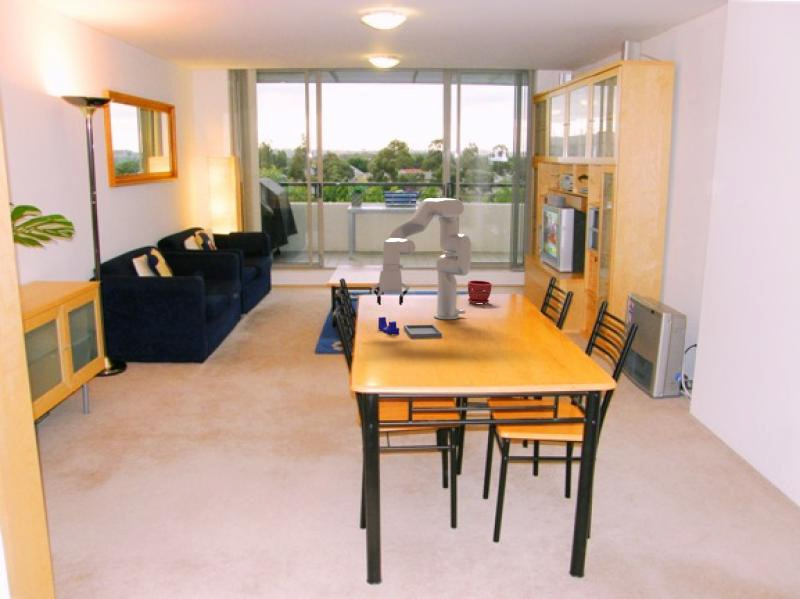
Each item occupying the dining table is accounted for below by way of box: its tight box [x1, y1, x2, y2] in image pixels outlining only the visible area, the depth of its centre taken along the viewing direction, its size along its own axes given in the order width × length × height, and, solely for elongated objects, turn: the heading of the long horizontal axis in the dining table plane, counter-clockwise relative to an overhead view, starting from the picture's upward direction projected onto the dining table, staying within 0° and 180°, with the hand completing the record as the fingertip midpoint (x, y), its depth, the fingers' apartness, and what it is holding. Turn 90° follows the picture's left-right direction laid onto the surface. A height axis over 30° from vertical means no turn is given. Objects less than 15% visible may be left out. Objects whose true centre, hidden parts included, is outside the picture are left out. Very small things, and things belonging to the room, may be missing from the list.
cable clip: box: [377, 316, 400, 336], centre depth 329 cm, size 12×4×6 cm, turn 28°
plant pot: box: [467, 280, 493, 304], centre depth 402 cm, size 13×13×12 cm
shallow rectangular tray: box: [403, 324, 443, 339], centre depth 327 cm, size 14×18×2 cm
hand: (389, 304), depth 327 cm, fingers open, 9 cm apart
